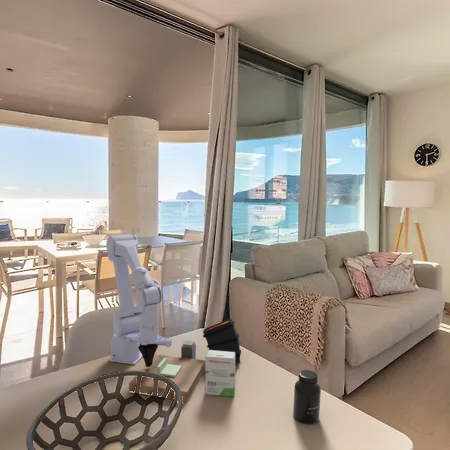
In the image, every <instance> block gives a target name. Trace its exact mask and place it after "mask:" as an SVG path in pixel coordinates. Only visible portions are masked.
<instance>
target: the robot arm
mask: <svg viewBox="0 0 450 450" xmlns="http://www.w3.org/2000/svg"><path fill="white" fill-rule="evenodd" d="M105 247H106V252H107V257H108V260H109V261H111V262H112V264H113V269H114V275H115V283H116V288H117V289H116V290H117V295H118V301H119V302H118V303H119V308H118V309H117V310H116V311H115V312H114V314H113V316H112V320H113V323H112V328H113V333H114V334H113V335H112V338H111V341H110V359H109V361H110V362H113V363H119V364H128V365H136V364H137V363H138V362H139V361H140V359H141V358H143V360H144V364H145V365H146V367H150V366H151V365H152V362H153V358H154V355H155V354H156V352H157V349H158V347H159V346H165V347H166V348H171V346H172V343H173V342H172V340H173V339H172V338H168V337H164V336H161V335H159V304H160V303H161V302H162V297H163V294H162V289H161V288H160V286H159V285H158V284H156V282H153V280H152V279H153V278H152V277H151V275H150V273H149V270H148V268H146V267H143V265H142V262H141V259H140V255H139V253H138V251H139V239H138V237H137V235H136V234H134V233H132V234H123V235H109V236H108V237H107V239H106V246H105ZM129 270H130V271H131V274H130V271H129ZM131 282H132V283H133V286H134V288H135V291H136V295H135V297H136V298H135V299H136V304H137V306H136V305H135V303H134V296H133V289H132V288H133V287H132V283H131ZM126 315H127V316H126ZM145 365H144V366H145Z"/></svg>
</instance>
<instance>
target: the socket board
mask: <svg viewBox="0 0 450 450" xmlns="http://www.w3.org/2000/svg"><path fill="white" fill-rule="evenodd" d="M164 358H167V364H172V365H179V366H182V368H181V370H180V371H179V372H178V374H177V375H176V377H170V376H165V377H167V378H169V379H170V380H172V381H173V382H175V384H176V385H177V386H178V387H179V389H180V391H181V393H182V396H183V401H182V402H186V403H188V401H189V399H190V398H191V396H192V394H193V392H194V391H195V389H196V386H197V385H198V383H199V381H200V379H201V377H202V376H203V374H204V372H205V371H206V359H205V360H203V359H197V358H196V359H189V358H181V356H171V355H162V354H156V353H155V355H154V358H153V362H152V365H151V366H150V367H146V365H144V366H143V367H142V368H141V369H140V371H146V372H152V373H156V374H157V366H158V365H159V363H160V362H161V361H162V360H163V359H164ZM136 378H137V377H136V375H135V376H134V377H133V378H132V379H131V381H129V383H128V392H129V391H133V392H134V391H135V387H136ZM153 384H154V382H153V379H152V378H147V377H142V380H141V387H140V392H141V393H147V394H150V395H151V394H152V392H153ZM165 389H166V384H165V383H164V382H162V381H159V382H158V392H157V393H158V396H161V395H162V394H163V392H164V390H165ZM173 398H174V391H173V390H172V389H170V392H169V394H168V396H167V398H166V399H167V400H171V399H173ZM166 399H165V400H166Z"/></svg>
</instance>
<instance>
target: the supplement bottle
mask: <svg viewBox="0 0 450 450" xmlns="http://www.w3.org/2000/svg"><path fill="white" fill-rule="evenodd" d="M293 389H294V391H293V392H294V393H293V409H292V414H293V416H294V418H295V419H296V421H297V422H299V423H302V424H305V425H313V424H316V423H317V422H318V421H319V418H320V410H321V395H322V394H321V391H322V389H321V386H320V384H319V383H318V374H317V373H316V372H315V371H313V370H309V369H302V370H299V373H298V380H297V381H296V382H295V384H294V388H293Z"/></svg>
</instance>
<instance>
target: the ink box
mask: <svg viewBox="0 0 450 450" xmlns="http://www.w3.org/2000/svg"><path fill="white" fill-rule="evenodd" d="M235 391H236V363H235V352H227V351H215V350H209V349H208V351H207V354H206V356H205V395H209V396H210V395H211V396H220V397H221V396H222V397H230V398H231V397H235Z"/></svg>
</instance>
